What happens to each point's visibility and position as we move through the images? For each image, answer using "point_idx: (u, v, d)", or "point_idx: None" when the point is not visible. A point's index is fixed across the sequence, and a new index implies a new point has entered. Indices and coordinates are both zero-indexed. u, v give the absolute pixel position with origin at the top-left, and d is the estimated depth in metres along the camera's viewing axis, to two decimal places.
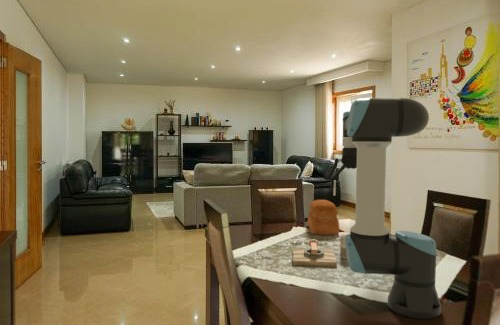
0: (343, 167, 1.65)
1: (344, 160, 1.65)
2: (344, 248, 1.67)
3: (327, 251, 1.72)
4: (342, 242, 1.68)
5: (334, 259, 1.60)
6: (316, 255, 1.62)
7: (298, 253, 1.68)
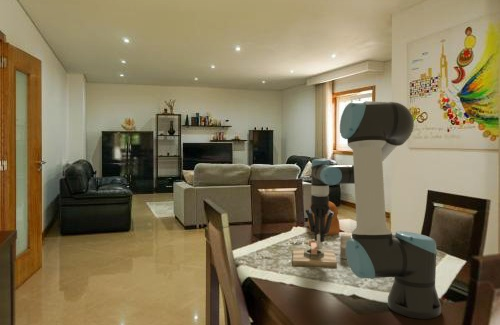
0: (315, 217, 1.64)
1: (312, 207, 1.66)
2: (344, 248, 1.67)
3: (327, 251, 1.72)
4: (342, 242, 1.68)
5: (334, 259, 1.60)
6: (316, 255, 1.62)
7: (298, 253, 1.68)
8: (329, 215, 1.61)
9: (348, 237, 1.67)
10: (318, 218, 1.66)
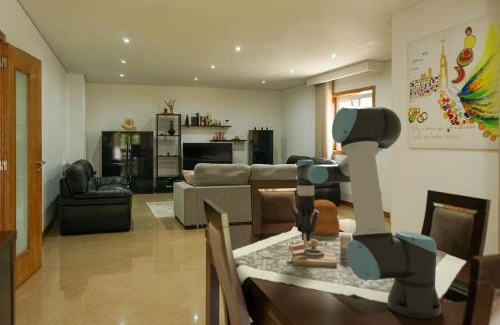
0: (301, 216, 1.68)
1: (298, 207, 1.69)
2: (344, 248, 1.67)
3: (327, 251, 1.72)
4: (342, 242, 1.68)
5: (334, 259, 1.60)
6: (316, 255, 1.62)
7: (298, 253, 1.68)
8: (314, 214, 1.64)
9: (348, 237, 1.67)
10: (304, 217, 1.69)
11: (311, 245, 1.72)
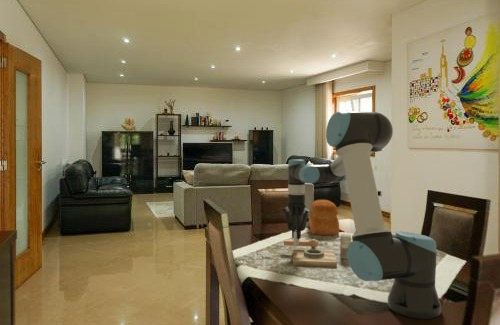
0: (292, 214, 1.71)
1: (289, 205, 1.72)
2: (344, 248, 1.67)
3: (327, 251, 1.72)
4: (342, 242, 1.68)
5: (334, 259, 1.60)
6: (316, 255, 1.62)
7: (298, 253, 1.68)
8: (305, 213, 1.67)
9: (348, 237, 1.67)
10: (295, 216, 1.72)
11: (308, 244, 1.73)
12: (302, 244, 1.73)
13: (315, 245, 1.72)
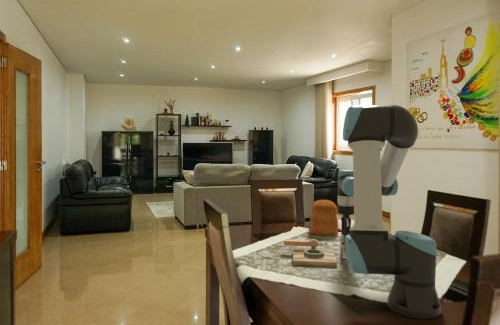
0: (341, 224, 1.71)
1: None
2: None
3: (327, 251, 1.72)
4: (342, 242, 1.68)
5: (334, 259, 1.60)
6: (316, 255, 1.62)
7: (298, 253, 1.68)
8: (344, 224, 1.63)
9: None
10: None
11: (308, 244, 1.73)
12: (302, 244, 1.73)
13: (315, 245, 1.72)
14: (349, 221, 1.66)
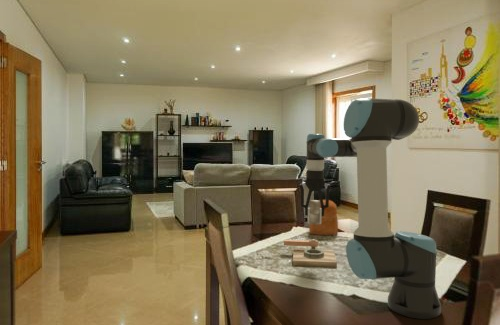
0: (310, 191, 1.63)
1: (308, 182, 1.64)
2: (319, 213, 1.64)
3: (327, 251, 1.72)
4: (318, 208, 1.63)
5: (334, 259, 1.60)
6: (316, 255, 1.62)
7: (298, 253, 1.68)
8: (328, 188, 1.63)
9: None
10: None
11: (308, 244, 1.73)
12: (302, 244, 1.73)
13: (315, 245, 1.72)
14: None
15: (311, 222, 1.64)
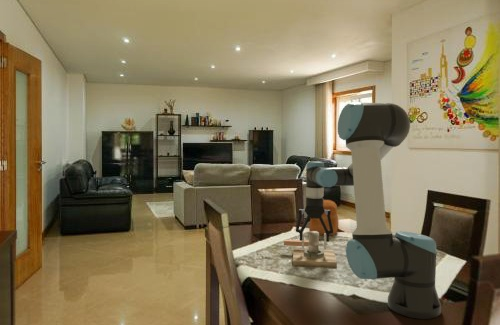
0: (308, 218, 1.64)
1: (307, 210, 1.64)
2: (318, 245, 1.65)
3: (327, 251, 1.72)
4: (317, 239, 1.64)
5: (334, 259, 1.60)
6: (316, 255, 1.62)
7: (298, 253, 1.68)
8: (328, 214, 1.63)
9: None
10: (308, 220, 1.66)
11: None
12: None
13: None
14: None
15: None
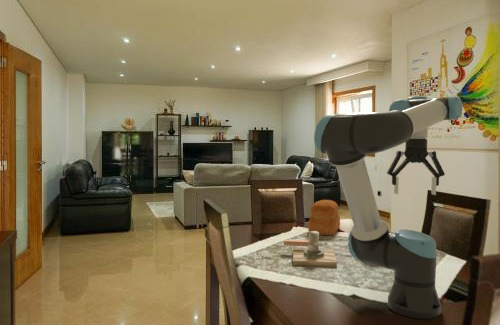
0: (407, 161, 1.43)
1: (408, 153, 1.43)
2: (318, 245, 1.65)
3: (327, 251, 1.72)
4: (317, 239, 1.64)
5: (334, 259, 1.60)
6: (316, 255, 1.62)
7: (298, 253, 1.68)
8: (434, 155, 1.42)
9: None
10: None
11: (308, 244, 1.73)
12: (302, 244, 1.73)
13: None
14: None
15: None
